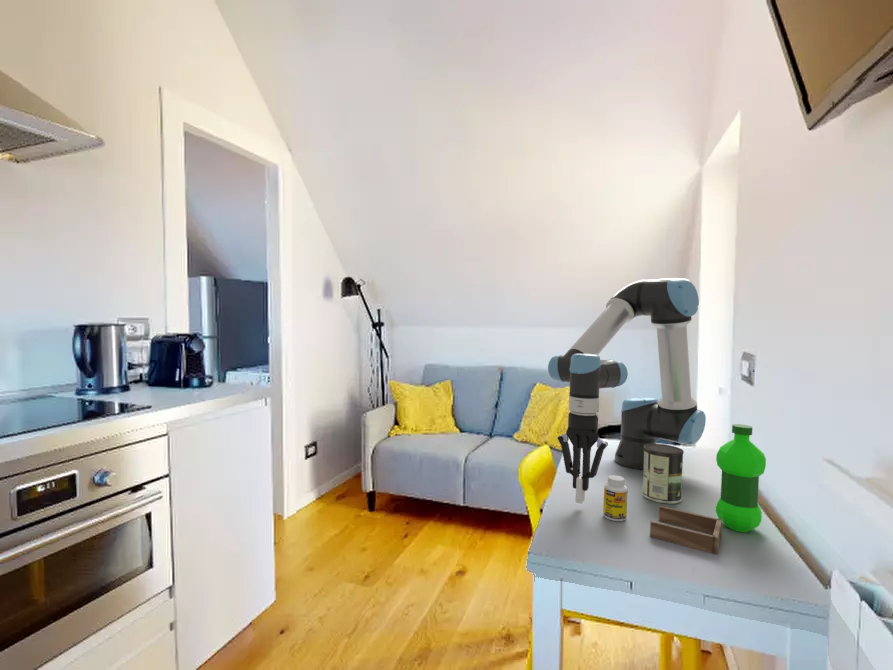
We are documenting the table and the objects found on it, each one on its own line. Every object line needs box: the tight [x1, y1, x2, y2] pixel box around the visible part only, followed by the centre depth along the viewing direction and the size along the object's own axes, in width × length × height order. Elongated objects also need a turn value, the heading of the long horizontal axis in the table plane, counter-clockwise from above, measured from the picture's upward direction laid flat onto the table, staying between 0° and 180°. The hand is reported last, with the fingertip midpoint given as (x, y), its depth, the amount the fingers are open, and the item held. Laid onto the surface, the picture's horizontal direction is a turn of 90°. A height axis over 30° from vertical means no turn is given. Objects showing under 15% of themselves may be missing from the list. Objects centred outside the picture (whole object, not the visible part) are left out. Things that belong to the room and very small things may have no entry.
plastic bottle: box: [715, 423, 767, 533], centre depth 115 cm, size 10×10×25 cm
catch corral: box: [649, 505, 723, 555], centre depth 110 cm, size 12×14×4 cm
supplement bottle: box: [602, 474, 629, 522], centre depth 119 cm, size 6×6×10 cm
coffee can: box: [642, 443, 685, 505], centre depth 134 cm, size 10×10×14 cm
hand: (580, 501), depth 124 cm, fingers closed
